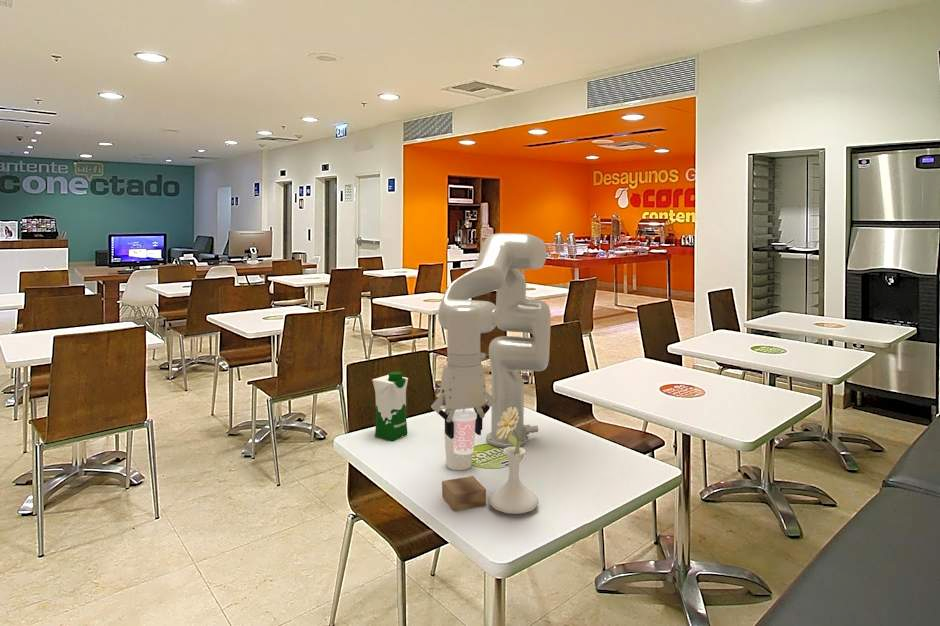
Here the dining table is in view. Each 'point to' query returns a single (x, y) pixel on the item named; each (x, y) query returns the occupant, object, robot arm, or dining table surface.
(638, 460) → the dining table surface
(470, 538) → the dining table surface
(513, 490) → the flower in vase
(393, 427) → the milk carton
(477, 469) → the dining table surface
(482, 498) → the riser
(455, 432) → the beverage cup
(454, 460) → the white cup
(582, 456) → the dining table surface
